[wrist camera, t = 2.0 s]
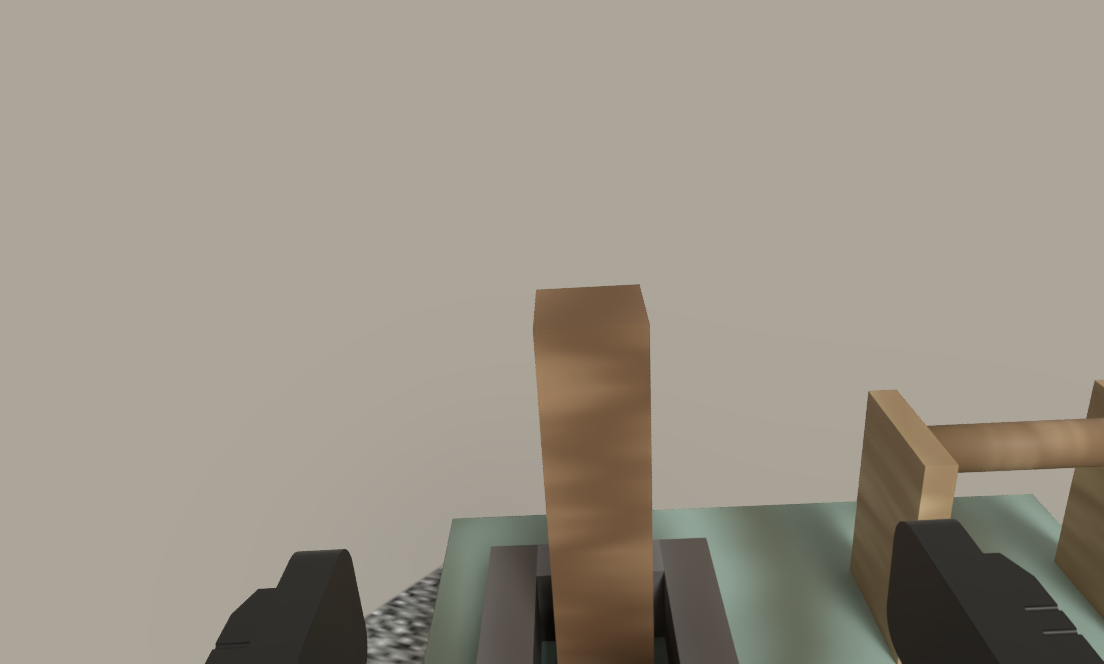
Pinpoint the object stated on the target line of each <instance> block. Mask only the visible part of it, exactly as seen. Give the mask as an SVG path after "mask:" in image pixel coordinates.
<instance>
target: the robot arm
mask: <svg viewBox="0 0 1104 664" xmlns="http://www.w3.org/2000/svg"><path fill="white" fill-rule="evenodd" d="M887 622H888V628H889V633H890V637H891V641H892V644H893V646H894V649H895V651H896V653H897V655H898V657H899V659H900V661H901V663H902V664H1104V661H1103V660H1102V659H1101V657H1100V656H1099V655H1098V654H1097V652H1096V651H1095V650H1094V649H1093V647H1092V646H1091V645H1090V644H1089V643H1088V641H1087V640H1086V639H1085V638H1084V636H1083V635H1082V634H1078V633H1077V628H1076V627H1075V625H1074V624H1073V623H1072V622H1071V620H1070V619H1069V618H1068V617H1067V615H1066V614H1065V613H1064V612H1063V611H1062V610H1059V609H1058V604H1057V603H1056V602H1055V601H1054V599H1053V598H1052V597H1051V596H1050V595H1049V593H1048V592H1047V591H1046V590H1045V588H1044V587H1043V586H1042V585H1041V583H1040V582H1039V581H1038V580H1037V579H1036V577H1035V576H1034V575H1032V574H1031V573H1029V572H1028V571H1026V570H1025V569H1023V568H1022V567H1020V566H1019V565H1017V564H1016V563H1014V562H1013V561H1011V560H1010V559H1008V558H1007V557H1006V556H1004V555H1003V554H1001V553H983V552H982V551H981V550H980V548H979V547H978V546H977V544H976V543H975V542H974V540H973V539H972V538H971V536H970V535H969V534H968V532H967V531H966V530H965V528H964V527H963V526H962V525H961V523H960V522H959V521H957V520H956V519H933V520H914V521H901V522H899V523H898V524H897V526H896V528H895V532H894V540H893V550H892V559H891V568H890V578H889V587H888V597H887ZM366 661H367V632H366V626H365V621H364V616H363V612H362V606H361V602H360V597H359V592H358V587H357V582H356V577H355V572H354V567H353V562H352V558H351V556H350V554H349V552H348V550H346V549H339V550H320V551H301V552H296V553H294V554H293V555H292V557H291V559H290V560H289V563H288V565H287V567H286V569H285V571H284V573H283V575H282V577H281V579H280V581H279V584H278V585H277V587H276V588H267V589H258V590H257V591H256V592H255V593H254V594H252V595H251V596H250V597H249V598H248V599H247V600H246V601H245V602H244V603H243V604H242V605H241V606H240V607H239V608H238V609H237V610H236V611H234V612H233V613H232V614H231V616H230V617H229V619H228V622H227V623H226V625H225V627H224V629H223V631H222V632H221V634H220V636H219V638H218V640H217V642H216V648H215V649H213V650H212V651H211V653H210V655H209V657H208V659H207V661H206V663H205V664H366Z"/></svg>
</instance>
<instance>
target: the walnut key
mask: <svg viewBox="0 0 1104 664" xmlns="http://www.w3.org/2000/svg"><path fill="white" fill-rule="evenodd" d="M533 338H534V351H535V364H536V378H537V391H538V405H539V418H540V431H541V446H542V459H543V472H544V485H545V499H546V512H547V526H548V540H549V553H550V567H551V580H552V594H553V607H554V620H555V634H556V647H557V661H558V664H654V616H653V540H652V470H651V469H652V467H651V466H652V464H651V388H650V324H649V320H648V316H647V312H646V308H645V305H644V300H643V297H642V293H641V289H640V285H620V286H600V287H582V288H562V289H544V290H543V289H542V290H536V299H535V311H534V323H533Z"/></svg>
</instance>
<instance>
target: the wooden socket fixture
mask: <svg viewBox="0 0 1104 664" xmlns="http://www.w3.org/2000/svg"><path fill="white" fill-rule="evenodd" d="M1055 468H1075V471H1074V475H1073V479H1072V484H1071V489H1070V493H1069V497H1068V502H1067V506H1066V510H1065V516H1064V519H1063V524H1062V526H1061V525H1060V524H1059V523H1058V522H1057V520H1056V519H1055V518H1054V517H1053V516H1052V515H1051V514H1050V513H1049V512H1048V511H1047V509H1046V508H1045V507H1044V506H1043V505H1042V504H1041V503H1040V502H1039V501H1038V500H1037V499H1036V498H1035V496H1034V495H1033V494H1023V495H1001V496H975V497H954V492H955V486H956V480H957V473H963V472H986V471H1007V470H1008V471H1009V470H1029V469H1030V470H1031V469H1055ZM860 469H861V470H860V478H859V488H858V498H857V502H835V503H812V504H790V505H789V504H788V505H765V506H743V507H742V506H741V507H718V508H697V509H696V508H695V509H671V510H652V540H653V616H654V664H902V663H901V661H900V659H899V657H898V655H897V653H896V651H895V649H894V646H893V644H892V641H891V637H890V633H889V628H888V622H887V597H888V587H889V578H890V568H891V559H892V550H893V540H894V532H895V528H896V526H897V524H898V523H899V522H901V521H914V520H933V519H956V520H957V521H959V522H960V523H961V525H962V526H963V527H964V528H965V530H966V531H967V532H968V534H969V535H970V536H971V538H972V539H973V540H974V542H975V543H976V544H977V546H978V547H979V548H980V550H981V551H982V552H983V553H1001V554H1003V555H1004V556H1006V557H1007V558H1008V559H1010V560H1011V561H1013V562H1014V563H1016V564H1017V565H1019V566H1020V567H1022V568H1023V569H1025V570H1026V571H1028V572H1029V573H1031V574H1032V575H1034V576H1035V577H1036V579H1037V580H1038V581H1039V582H1040V583H1041V585H1042V586H1043V587H1044V588H1045V590H1046V591H1047V592H1048V593H1049V595H1050V596H1051V597H1052V598H1053V599H1054V601H1055V602H1056V603H1057V604H1058V609H1059V610H1062V611H1063V612H1064V613H1065V614H1066V615H1067V617H1068V618H1069V619H1070V620H1071V622H1072V623H1073V624H1074V625H1075V627H1076V628H1077V633H1078V634H1082V635H1083V636H1084V638H1085V639H1086V640H1087V641H1088V643H1089V644H1090V645H1091V646H1092V647H1093V649H1094V650H1095V651H1096V652H1097V654H1098V655H1099V656H1100V657H1101V659H1102V660H1103V661H1104V380H1095V382H1094V386H1093V391H1092V395H1091V400H1090V405H1089V409H1088V413H1087V418H1086V419H1068V420H1046V421H1026V422H1025V421H1024V422H1002V423H981V424H958V425H936V426H926V425H925V424H924V422H923V421H922V420H921V419H920V417H919V416H918V415H917V414H916V413H915V411H914V410H913V409H912V408H911V407H910V405H909V404H908V403H907V402H906V401H905V399H904V398H903V397H902V396H901V394H899V392H898V391H897V390H880V391H869V392H868V401H867V411H866V421H865V430H864V439H863V450H862V459H861V468H860ZM423 664H558V661H557V647H556V634H555V620H554V607H553V594H552V580H551V567H550V553H549V540H548V526H547V515H531V516H508V517H487V518H486V517H484V518H462V519H453V520H452V525H451V530H450V535H449V540H448V546H447V550H446V555H445V560H444V565H443V569H442V574H441V579H440V584H439V589H438V594H437V599H436V604H435V609H434V614H433V619H432V624H431V629H430V633H429V638H428V643H427V648H426V653H425V658H424V663H423Z"/></svg>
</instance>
